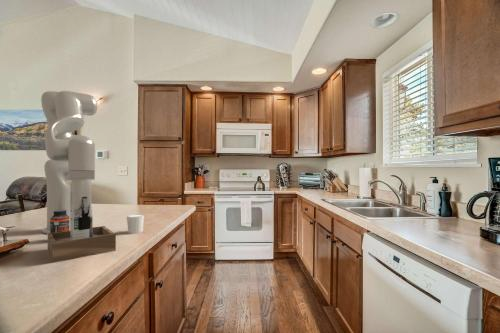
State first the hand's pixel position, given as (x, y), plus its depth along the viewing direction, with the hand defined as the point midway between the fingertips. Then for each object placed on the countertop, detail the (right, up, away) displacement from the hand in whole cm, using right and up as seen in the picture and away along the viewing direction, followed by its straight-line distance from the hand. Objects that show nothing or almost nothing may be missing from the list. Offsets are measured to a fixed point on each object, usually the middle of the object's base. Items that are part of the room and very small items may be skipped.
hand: (81, 226), depth 88 cm
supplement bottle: (-16, -8, +12) cm, 22 cm away
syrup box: (0, -8, 0) cm, 8 cm away
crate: (0, -8, 0) cm, 8 cm away
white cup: (+7, -8, +25) cm, 27 cm away
